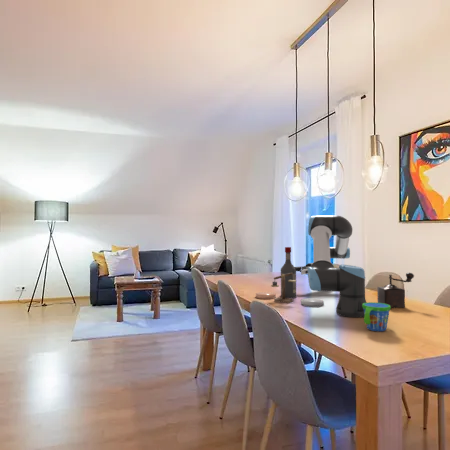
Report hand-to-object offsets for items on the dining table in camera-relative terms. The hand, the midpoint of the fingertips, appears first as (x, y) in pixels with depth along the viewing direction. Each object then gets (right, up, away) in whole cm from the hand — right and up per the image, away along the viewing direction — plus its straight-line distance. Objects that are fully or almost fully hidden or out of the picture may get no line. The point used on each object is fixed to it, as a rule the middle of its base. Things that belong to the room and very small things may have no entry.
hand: (292, 271), depth 222 cm
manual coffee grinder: (+49, -14, -32) cm, 60 cm away
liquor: (-3, -15, -4) cm, 16 cm away
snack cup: (+20, -14, -75) cm, 79 cm away
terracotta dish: (-17, -15, -5) cm, 23 cm away
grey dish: (+6, -14, -26) cm, 31 cm away
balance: (-9, -15, -18) cm, 25 cm away
